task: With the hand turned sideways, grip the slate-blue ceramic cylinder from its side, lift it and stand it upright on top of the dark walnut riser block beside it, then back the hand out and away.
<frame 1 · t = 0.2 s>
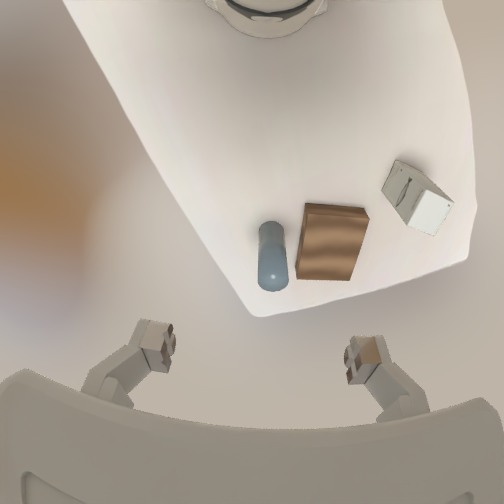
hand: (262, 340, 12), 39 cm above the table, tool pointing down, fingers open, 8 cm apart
walnut riser: (328, 239, 55), on the table
supplement box: (401, 180, 46), on the table
slate cylinder: (271, 231, 55), on the table
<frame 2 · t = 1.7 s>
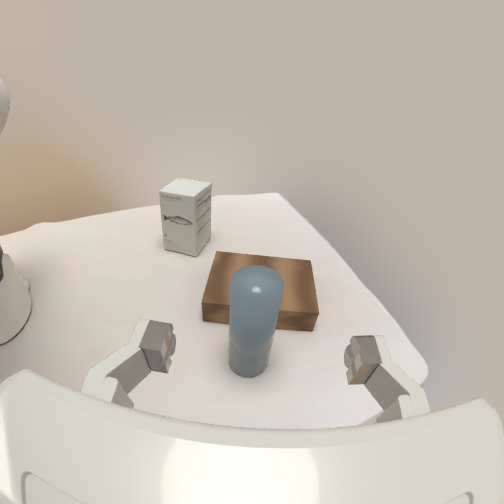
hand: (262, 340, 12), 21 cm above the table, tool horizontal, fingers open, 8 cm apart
walnut riser: (259, 298, 43), on the table
supplement box: (188, 245, 54), on the table
slate cylinder: (247, 361, 33), on the table
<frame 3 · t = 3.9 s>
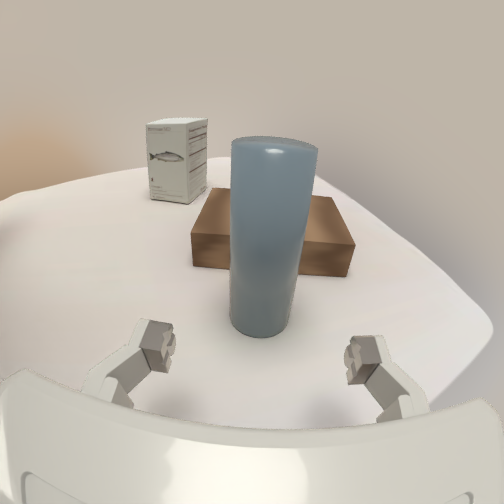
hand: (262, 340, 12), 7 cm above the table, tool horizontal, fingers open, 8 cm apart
walnut riser: (270, 241, 33), on the table
supplement box: (179, 195, 44), on the table
slate cylinder: (259, 314, 23), on the table
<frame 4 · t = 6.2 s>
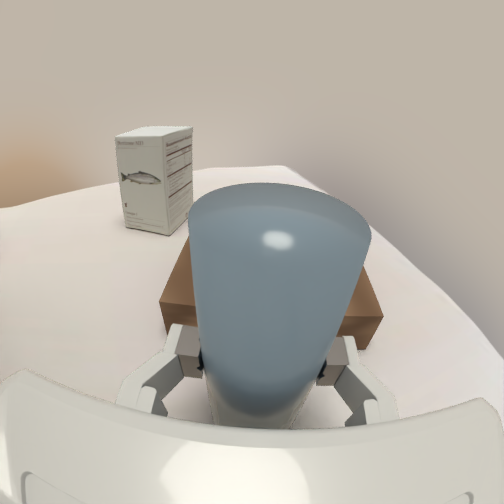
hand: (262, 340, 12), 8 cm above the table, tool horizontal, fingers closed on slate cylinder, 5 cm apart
walnut riser: (269, 295, 25), on the table
supplement box: (160, 221, 36), on the table
slate cylinder: (252, 417, 15), on the table, touching gripper
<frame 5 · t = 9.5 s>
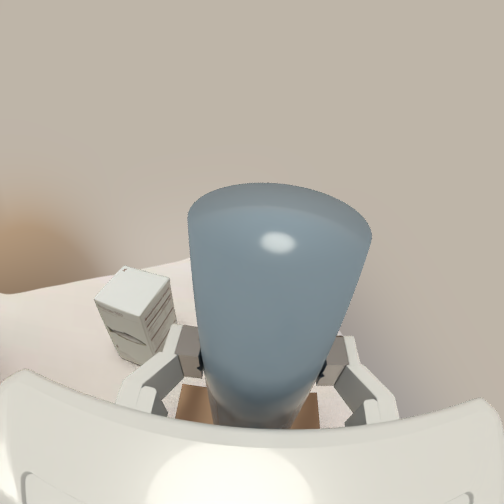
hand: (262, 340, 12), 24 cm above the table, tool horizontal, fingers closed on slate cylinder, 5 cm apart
walnut riser: (245, 445, 26), on the table
supplement box: (151, 350, 37), on the table
slate cylinder: (251, 418, 15), point 16 cm above the table, touching gripper
when the fingers open (13 cm above the table, at t = 12.8 s): slate cylinder drops 1 cm, resting on walnut riser.
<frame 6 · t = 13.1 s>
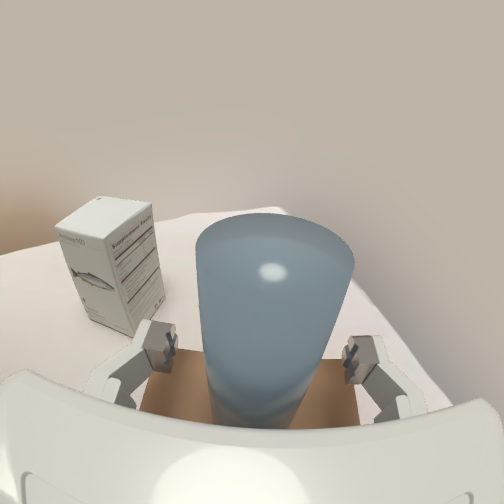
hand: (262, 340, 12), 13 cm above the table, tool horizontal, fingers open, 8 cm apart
walnut riser: (248, 438, 18), on the table
supplement box: (128, 310, 29), on the table
slate cylinder: (250, 423, 16), point 4 cm above the table, touching walnut riser
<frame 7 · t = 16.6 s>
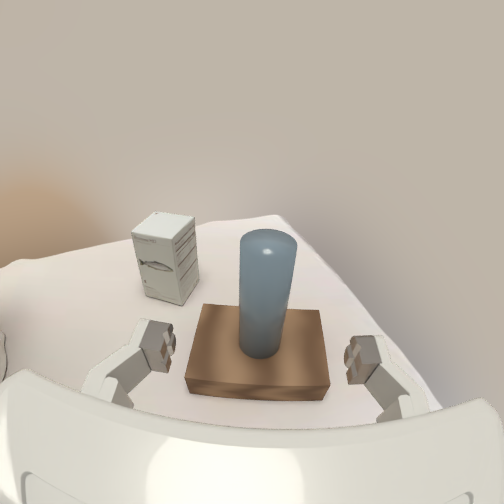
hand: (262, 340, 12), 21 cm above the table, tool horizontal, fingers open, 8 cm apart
walnut riser: (258, 360, 34), on the table
supplement box: (173, 289, 45), on the table
slate cylinder: (259, 342, 32), point 4 cm above the table, touching walnut riser
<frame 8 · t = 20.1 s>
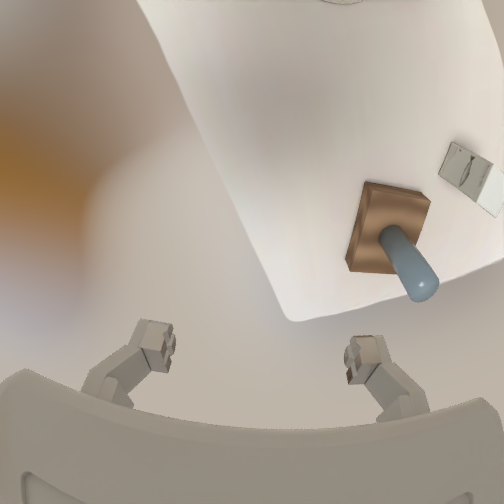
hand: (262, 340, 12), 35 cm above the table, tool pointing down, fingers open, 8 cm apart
walnut riser: (383, 226, 47), on the table
supplement box: (455, 165, 38), on the table
slate cylinder: (391, 237, 43), point 4 cm above the table, touching walnut riser
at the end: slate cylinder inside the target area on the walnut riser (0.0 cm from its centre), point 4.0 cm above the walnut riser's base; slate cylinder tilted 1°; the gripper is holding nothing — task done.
